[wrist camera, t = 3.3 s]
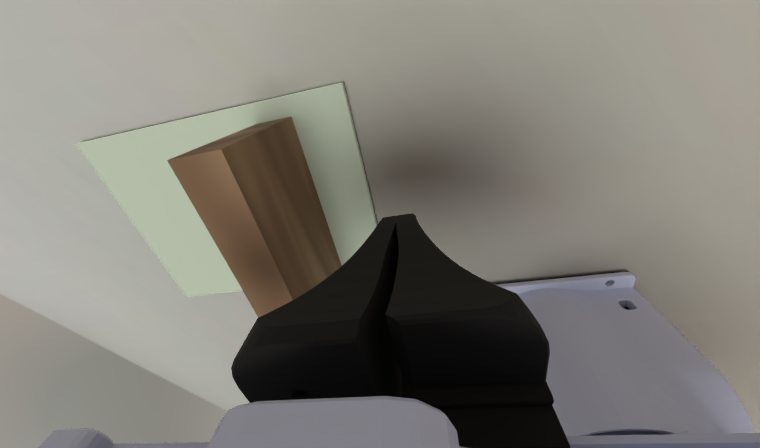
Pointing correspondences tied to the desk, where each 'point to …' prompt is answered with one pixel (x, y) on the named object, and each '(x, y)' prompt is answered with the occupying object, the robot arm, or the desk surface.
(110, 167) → the mat
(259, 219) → the wooden block
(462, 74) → the desk surface
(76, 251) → the desk surface
